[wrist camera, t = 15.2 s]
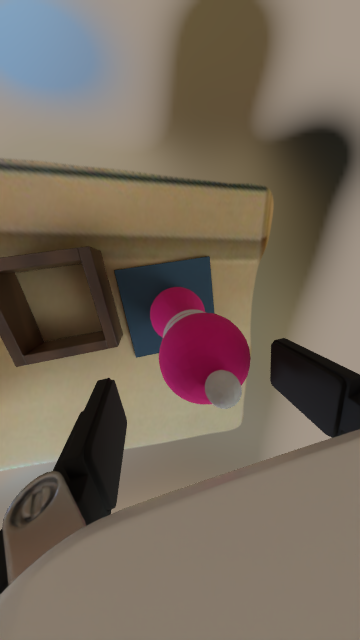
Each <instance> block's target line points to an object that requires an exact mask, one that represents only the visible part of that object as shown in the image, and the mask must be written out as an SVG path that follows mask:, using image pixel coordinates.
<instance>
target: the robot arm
mask: <svg viewBox="0 0 360 640" xmlns="http://www.w3.org/2000/svg"><path fill="white" fill-rule="evenodd" d="M270 378H271V384H272V385H273V386H274V387H275V388H276V389H277V390H278V391H279V392H280V393H281V394H282V395H283V396H284V397H286V398H287V399H288V400H289V401H290V402H291V403H292V404H293V405H294V406H295V407H296V408H298V409H299V410H300V411H301V412H302V413H303V414H304V415H305V416H306V417H307V418H308V419H310V420H311V421H312V422H313V423H314V424H315V425H316V426H317V427H318V428H320V429H321V430H322V431H323V432H324V433H325V434H326V435H328V436H331V437H332V438H331V439H328V440H325V441H321V442H319V443H315V444H312V445H309V446H306V447H303V448H300V449H297V450H294V451H291V452H288V453H285V454H282V455H279V456H276V457H273V458H270V459H267V460H264V461H261V462H258V463H255V464H252V465H249V466H246V467H243V468H240V469H237V470H234V471H231V472H228V473H225V474H222V475H219V476H216V477H213V478H210V479H207V480H204V481H202V482H198V483H195V484H193V485H189V486H187V487H184V488H181V489H178V490H175V491H172V492H169V493H166V494H163V495H161V496H158V497H155V498H152V499H150V500H147V501H144V502H142V503H139V504H136V505H133V506H130V507H128V508H125V509H123V510H120V511H118V512H115V513H113V514H111V509H113V508H115V506H116V502H117V495H118V488H119V480H120V473H121V465H122V458H123V450H124V443H125V435H126V428H127V419H126V416H125V412H124V409H123V406H122V403H121V400H120V396H119V393H118V390H117V387H116V384H115V381H114V380H111V379H110V378H107V379H103V380H99V381H97V383H96V385H95V388H94V390H93V392H92V394H91V396H90V399H89V401H88V403H87V405H86V407H85V409H84V411H82V412H81V413H80V415H79V417H78V419H77V421H76V423H75V425H74V427H73V429H72V432H71V434H70V436H69V438H68V440H67V442H66V444H65V446H64V448H63V451H62V453H61V455H60V457H59V459H58V461H57V463H56V465H55V467H54V470H53V471H51V472H47V473H45V474H43V475H41V476H39V477H37V478H36V479H34V480H33V481H32V482H30V483H29V484H28V485H27V486H26V487H25V488H24V489H23V490H22V491H21V492H20V493H19V494H18V495H17V496H16V498H15V499H14V500H13V502H12V503H11V505H10V506H9V508H8V510H7V512H6V514H5V517H4V519H3V527H2V529H1V531H0V640H360V375H359V374H357V373H355V372H353V371H351V370H349V369H347V368H345V367H343V366H341V365H339V364H337V363H335V362H333V361H331V360H329V359H327V358H324V357H322V356H320V355H318V354H316V353H314V352H312V351H310V350H308V349H306V348H304V347H302V346H300V345H298V344H296V343H294V342H292V341H290V340H288V339H285V338H282V339H278V340H274V342H273V343H272V345H271V377H270Z"/></svg>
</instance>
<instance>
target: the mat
mask: <svg viewBox="0 0 360 640" xmlns="http://www.w3.org/2000/svg"><path fill="white" fill-rule="evenodd" d="M114 271H115V275H116V279H117V283H118V287H119V291H120V295H121V299H122V303H123V307H124V311H125V315H126V319H127V323H128V327H129V331H130V335H131V339H132V343H133V347H134V351H135V355H136V357H141V356H146V355H151V354H156V353H159V350H160V346H161V342H162V339H163V338H162V337H161V336H160V335H158V334H157V332H156V331H155V330H154V328H153V326H152V323H151V319H150V309H151V305H152V303H153V301H154V299H155V298H156V297H157V296H158V295H159V294H160V293H161V292H162V291H164V290H166V289H169V288H172V287H183V288H186V289H189V290H191V291H192V292H194V293H195V294H196V295H197V296H198V297H199V298H200V299H201V301H202V303H203V305H204V308H205V312H206V313H214V305H213V293H212V281H211V269H210V257H202V258H195V259H189V260H182V261H175V262H168V263H161V264H155V265H148V266H141V267H134V268H127V269H120V270H114Z"/></svg>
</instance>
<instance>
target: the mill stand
mask: <svg viewBox="0 0 360 640" xmlns="http://www.w3.org/2000/svg"><path fill="white" fill-rule="evenodd" d="M75 264H83V268H84V271H85V274H86V278H87V281H88V284H89V287H90V291H91V294H92V297H93V300H94V304H95V307H96V310H97V314H98V317H99V320H100V323H101V327H102V330H103V331H99V332H93V333H88V334H83V335H77V336H72V337H67V338H61V339H56V340H50V341H45V342H44V340H43V338H42V335H41V333H40V331H39V328H38V326H37V324H36V321H35V319H34V317H33V314H32V312H31V310H30V307H29V305H28V303H27V300H26V298H25V296H24V293H23V291H22V289H21V286H20V284H19V282H18V279H17V277H16V275H15V273H18V272H25V271H32V270H39V269H46V268H53V267H61V266H68V265H75ZM0 336H1V338H2V340H3V342H4V344H5V346H6V348H7V350H8V352H9V354H10V356H11V358H12V360H13V362H14V364H15V366H16V367H19V366H24V365H29V364H34V363H39V362H44V361H49V360H54V359H59V358H64V357H69V356H74V355H79V354H84V353H89V352H94V351H99V350H104V349H108V348H114V347H118V345H119V342H120V340H121V338H122V336H123V333H122V329H121V326H120V322H119V318H118V314H117V311H116V307H115V303H114V299H113V296H112V292H111V288H110V285H109V281H108V277H107V273H106V270H105V266H104V262H103V258H102V255H101V251H99V250H97V249H94V248H92V247H89V246H88V247H80V248H72V249H64V250H57V251H49V252H41V253H33V254H25V255H18V256H10V257H2V258H0Z"/></svg>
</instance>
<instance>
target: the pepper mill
mask: <svg viewBox="0 0 360 640" xmlns="http://www.w3.org/2000/svg"><path fill="white" fill-rule="evenodd" d="M150 319H151V323H152V326H153V328H154V330H155V331H156V332H157V334H158V335H160V336H161V337H162V338H163V339H162V342H161V346H160V350H159V364H160V369H161V372H162V375H163V377H164V380H165V382H166V383H167V385H168V386H169V387H170V388H171V389H172V391H173V392H174V393H175V394H177V395H178V396H180V397H181V398H183V399H185V400H187V401H189V402H192V403H196V404H213V405H215V406H217V407H219V408H224V409H227V408H231V407H233V406H235V405H236V404H237V403H238V402H239V400H240V397H241V394H242V393H241V385H242V384H243V382H244V381H245V379H246V377H247V375H248V371H249V367H250V351H249V347H248V344H247V341H246V339H245V337H244V336H243V334H242V333H241V331H240V330H239V329H238V328H237V327H236V326H235V325H234V324H233V323H232V322H231V321H229V320H228V319H226V318H224V317H222V316H219V315H217V314H214V313H206V312H205V308H204V305H203V303H202V301H201V299H200V298H199V297H198V296H197V295H196V294H195V293H194V292H192V291H191V290H189V289H186V288H183V287H172V288H169V289H166V290H164V291H162V292H161V293H160V294H159V295H158V296H157V297H156V298H155V299H154V301H153V303H152V305H151V309H150Z"/></svg>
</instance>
